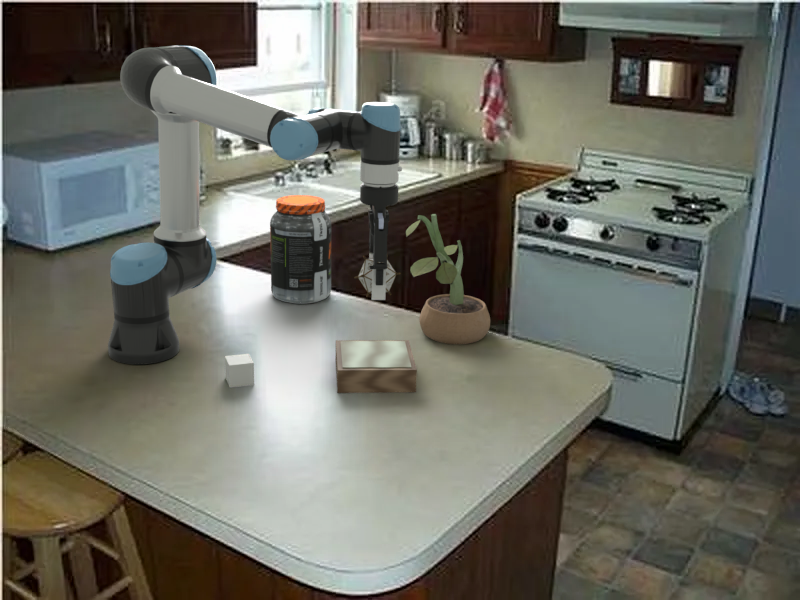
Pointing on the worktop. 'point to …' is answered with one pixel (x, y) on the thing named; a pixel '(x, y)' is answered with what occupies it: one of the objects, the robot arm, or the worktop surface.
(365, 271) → the game die
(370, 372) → the walnut framed mirror
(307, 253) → the supplement tub
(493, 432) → the worktop surface
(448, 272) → the potted plant
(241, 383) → the grey block
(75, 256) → the worktop surface
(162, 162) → the robot arm
